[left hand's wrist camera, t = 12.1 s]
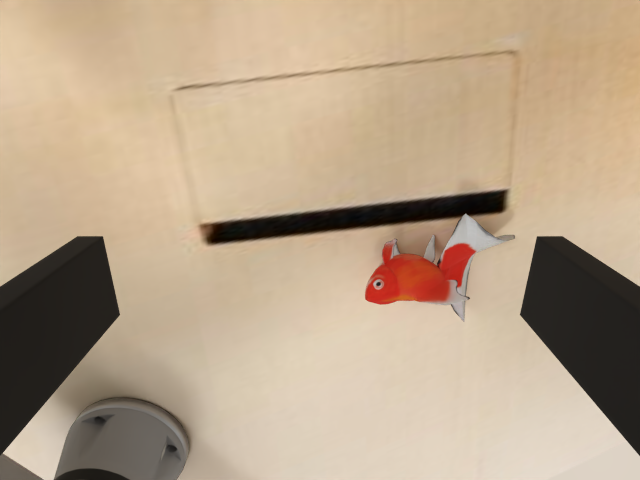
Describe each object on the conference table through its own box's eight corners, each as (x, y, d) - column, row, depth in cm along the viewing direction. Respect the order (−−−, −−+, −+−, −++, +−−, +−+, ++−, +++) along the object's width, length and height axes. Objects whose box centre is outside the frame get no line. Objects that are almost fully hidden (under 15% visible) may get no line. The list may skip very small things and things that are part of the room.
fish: (356, 200, 36) (419, 276, 30) (484, 177, 42) (561, 235, 36) (339, 282, 43) (388, 357, 37) (451, 252, 49) (511, 312, 43)
